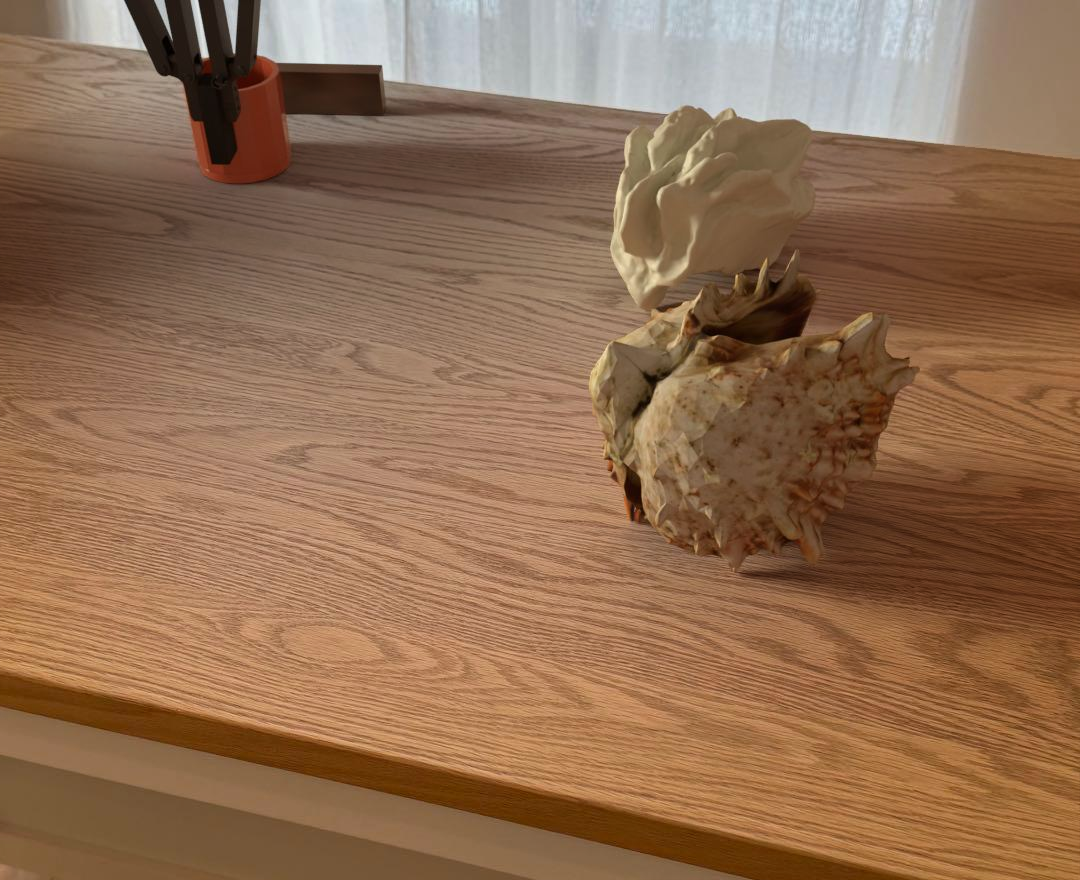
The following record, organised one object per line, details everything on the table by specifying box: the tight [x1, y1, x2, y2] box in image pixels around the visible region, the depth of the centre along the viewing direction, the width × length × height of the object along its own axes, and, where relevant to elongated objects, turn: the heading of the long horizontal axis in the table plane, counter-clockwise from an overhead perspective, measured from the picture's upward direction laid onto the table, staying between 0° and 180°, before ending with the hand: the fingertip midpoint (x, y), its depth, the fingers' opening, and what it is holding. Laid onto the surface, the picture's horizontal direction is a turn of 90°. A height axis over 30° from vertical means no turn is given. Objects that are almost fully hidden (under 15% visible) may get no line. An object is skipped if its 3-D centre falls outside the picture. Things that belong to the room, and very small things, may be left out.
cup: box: [181, 52, 292, 184], centre depth 106 cm, size 8×8×8 cm
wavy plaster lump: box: [609, 104, 817, 312], centre depth 92 cm, size 18×13×16 cm
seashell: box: [588, 248, 921, 573], centre depth 70 cm, size 18×18×15 cm
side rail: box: [275, 62, 387, 116], centre depth 115 cm, size 14×2×4 cm, turn 87°
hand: (224, 156), depth 103 cm, fingers closed
